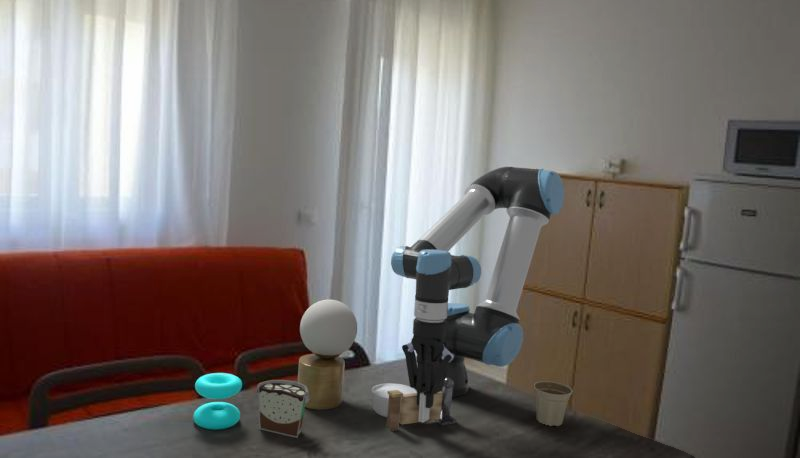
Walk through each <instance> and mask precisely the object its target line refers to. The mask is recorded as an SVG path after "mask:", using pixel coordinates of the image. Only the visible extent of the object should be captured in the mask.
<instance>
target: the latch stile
mask: <svg viewBox="0 0 800 458" xmlns="http://www.w3.org/2000/svg"><path fill="white" fill-rule="evenodd" d="M387 393H388V394H389V402H388V414H387V417H386V425H385V426H386V427H385V428H386V429H388V430H389V431H390V432H392V431H393V432H394V431H398V430H399V425H400V423H399V416H400V404H401V396H403V393H402V392H400V391H399V390H390V391H388V392H387Z"/></svg>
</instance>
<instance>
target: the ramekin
mask: <svg viewBox="0 0 800 458" xmlns="http://www.w3.org/2000/svg"><path fill="white" fill-rule="evenodd" d="M390 390H399V391H400V392H402V393H403V394H412V393H417V390H416V389H414V388H411V387H410V385H405V384H401V383H380V384H376V385H374V386H372V388H371V400H372V409H373V410H374V412H375V413H376V414H377V415H380V416H381V417H385V418H387V414H388V402H389V394H388V393H387V392H388V391H390ZM400 406H401V404H400ZM399 418H400V416H399Z"/></svg>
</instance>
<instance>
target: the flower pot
mask: <svg viewBox="0 0 800 458" xmlns="http://www.w3.org/2000/svg"><path fill="white" fill-rule="evenodd" d="M532 387H533V389H534V394H535V403H536V405H535V406H536V407H535V408H536V420H537V422H538V423H540V424H541V423H542V425H544V424H545V426H547V425H549V426H548V427H553V426H556V427H560V426H561V425H562V424H563V422H564V417H565V414H566V409H567V405H568V402H569V400H570V398H571V395H572V394H573V391H574V390H573V389H572V388H571V387H570V386H568V385H565V384H563V383H559V382H555V381H548V380H547V381H536V382H535V383H534V384H533V386H532Z"/></svg>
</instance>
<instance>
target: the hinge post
mask: <svg viewBox="0 0 800 458" xmlns="http://www.w3.org/2000/svg"><path fill="white" fill-rule="evenodd" d="M453 386H454V381H453V380H452V379H451V378H449V377H447V378H446V379H445V382H444V385H443V389H442V392H443V394H442V404H441V415H440V419H438V420H434V421H435V422H437V424H439V425H441V426H447V425H454V424H457V423H458V422H459V421H458V420H457V419H456V418H455V417H453V416H451V409H452V407H451V406H452V398H453V397H452V389H453Z"/></svg>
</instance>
